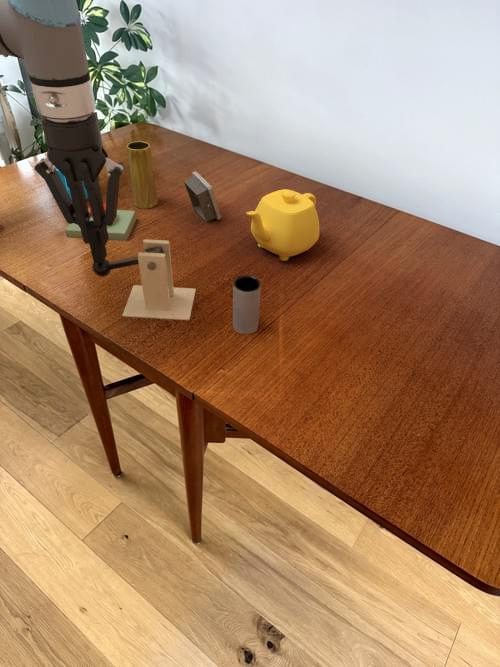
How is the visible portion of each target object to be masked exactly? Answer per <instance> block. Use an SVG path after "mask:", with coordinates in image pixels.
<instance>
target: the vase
mask: <svg viewBox="0 0 500 667" xmlns="http://www.w3.org/2000/svg"><path fill="white" fill-rule="evenodd" d="M126 153H127V159H128V167H129V174H130V180H131V188H132V191H131V192H132V205H133V206H134V207H135V208H137V209H142V210H148V209H152V208H154V207H156V206H157V205H158V204H159V199H158V195H157V189H156V183H155V174H154V166H153V159H152V150H151V144H150V143H149V142H147V141H143V140H134V141H131V142H129V143H127V144H126Z"/></svg>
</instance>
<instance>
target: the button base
mask: <svg viewBox="0 0 500 667" xmlns="http://www.w3.org/2000/svg"><path fill="white" fill-rule="evenodd" d="M88 210H89V215H90V216H91V214H90V209H89V207H88ZM89 221H93V217H91V218H90V220H89ZM136 221H137V214H136V210H126V209H117V216H116V218H115V220H114V222H113V224H112V225H111V226H108V225H107V231H108V236H109V239H108V241H120V242H121V241H122V242H128V240H129V238H130V235H131V232H132V230H133V228H134V225H135V224H136ZM64 231H65V235H66V238H68V239H83V237H82V233H81V229H80V227H79V226H78V225H77V224H74V223H72V224H69V223H68V225H67V226H66V228H65V230H64Z"/></svg>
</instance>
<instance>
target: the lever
mask: <svg viewBox="0 0 500 667" xmlns="http://www.w3.org/2000/svg"><path fill="white" fill-rule="evenodd" d="M145 253H163V254H164V252H163V249H162V247H161V246H158V247H154V248H149V249H146V250H145ZM136 265H139V262H138V255H136V256H131V257H127V258H121V259H116V260H112V261H109V259H106V258H105V260H104V262H103V264H102V263H94V262H92V265H91V269H92V272H93V273H94V275H96V276H97V277H99V278H100V277H101V278H102V277H103V278H104V277H107V276H108V275H109V274H110V273H111V272H112V270H115V269H122V268H125V267H131V266H136Z"/></svg>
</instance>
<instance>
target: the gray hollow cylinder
mask: <svg viewBox="0 0 500 667" xmlns="http://www.w3.org/2000/svg"><path fill="white" fill-rule="evenodd" d="M261 291H262V282H261V280H260V279H259V278H258V277H256V276H255V275H249V274H247V275H246V274H243V275H240V276H237V277H236V278H235V279H234V280H233V283H232V328H233V330H234V331H235V332H237V333H238V334H241V335H251V334H254V333H255V332H257V331H258V329H259V323H260V322H259V320H260V309H261V308H260V307H261V306H260V305H261V293H262V292H261Z"/></svg>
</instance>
